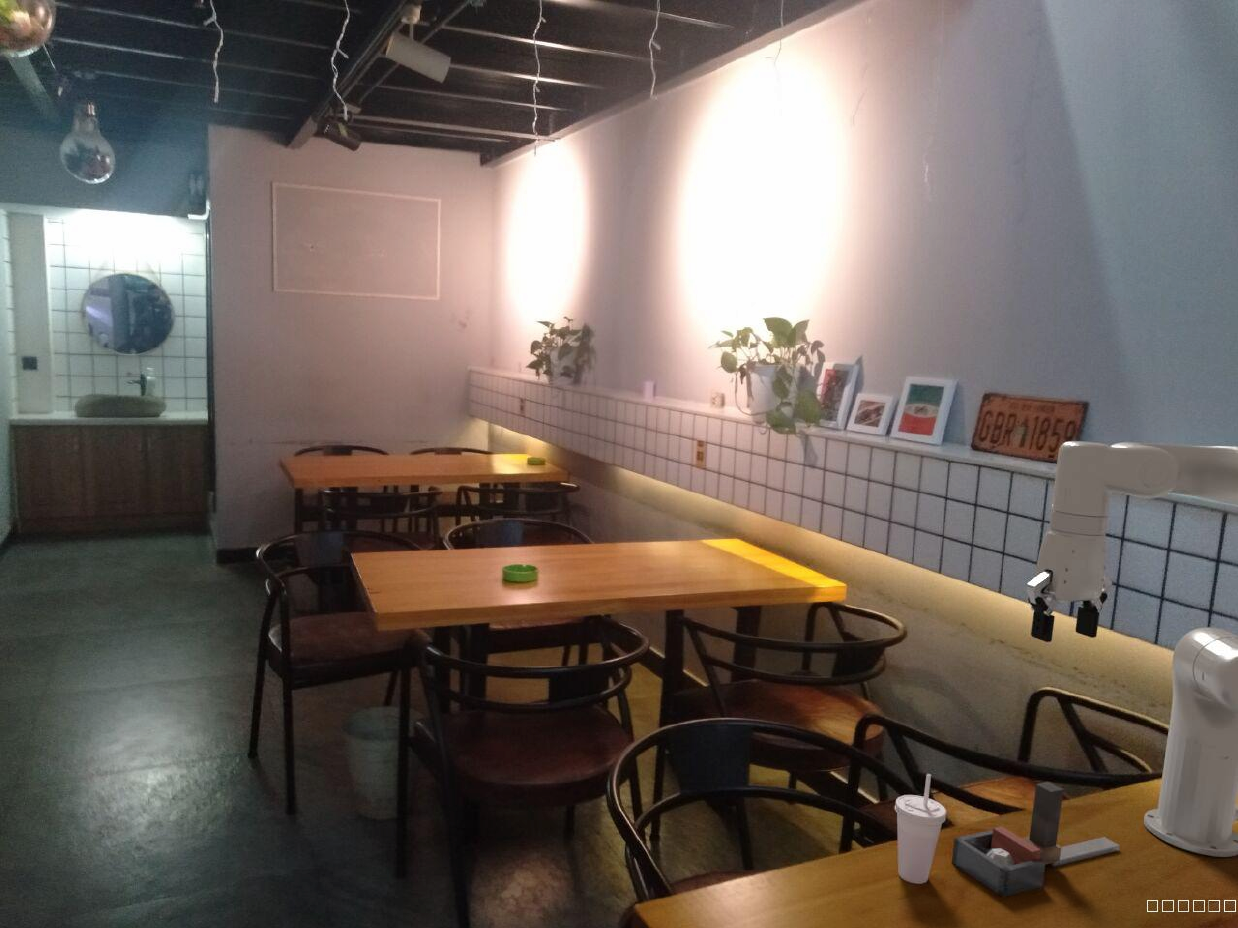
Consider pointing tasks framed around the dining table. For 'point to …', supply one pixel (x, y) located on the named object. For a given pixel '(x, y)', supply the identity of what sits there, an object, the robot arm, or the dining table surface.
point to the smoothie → (917, 834)
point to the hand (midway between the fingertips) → (1063, 637)
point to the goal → (995, 866)
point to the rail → (1086, 850)
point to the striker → (1035, 829)
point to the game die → (1001, 857)
